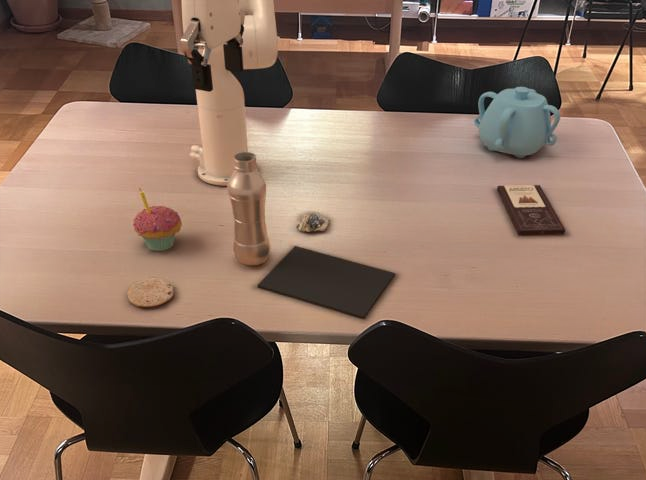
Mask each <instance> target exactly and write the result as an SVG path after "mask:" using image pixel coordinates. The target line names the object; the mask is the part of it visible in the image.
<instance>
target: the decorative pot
mask: <svg viewBox="0 0 646 480" xmlns="http://www.w3.org/2000/svg"><path fill="white" fill-rule="evenodd" d="M486 98H492V101H491V102H490V104H489V105H488V107H487V108H486V110H485V99H486ZM548 103H549V102H548V100H547V98H546V96H544V95H542V94H540V93H537V91H536V90H535V89H534V88H528V87H526V86H516V87H514V88H506V89H503V90H501V91H500V92H499V93H496V92H494V91H487V92H484V93H482V94H481V95H480V96H479V99H478V103H477V104H478V113H479V115H476V116H475V118H474V119H473V124H474V125H475V127H476V128H478V137H479V139H480V141H481V143H482V144H483V145H484V146H485V147H487V150H489V151H492V152H500V153H504V154H507V155H513V156H514V157H515V158H517V159H518V158H519V159H522V158H525V157H526V156H531V155H534V154H536V153H537V152H538V151H539V150H540V149H542V147H544V145H546V146H549V147H550V146H554V145H555V144H556V143H557V142H558V137H557V135H556V134H554V133H553V132H554V131H555V130H556V128H557V126H558V125H559V123H560V120H561V113H560V111H559V109H558V108H557V107H556V106H554V105H551V104H548ZM551 113H552V114H553V116H554V120H553V123H552V117H551ZM550 138H551V139H552V140H551V139H550Z"/></svg>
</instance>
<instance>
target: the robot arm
mask: <svg viewBox="0 0 646 480" xmlns="http://www.w3.org/2000/svg"><path fill="white" fill-rule="evenodd" d="M181 16H182V17H181V18H182V19H181V21H182V31H183V35H182V36H181V38H180V45H181V47H182V50H183V51H184V56H185V58H186V59H187V62H188V64H189V65H190V67H191V76H192V85H193V89H194V90H195V95H196V105H197V112H198V122H199V131H200V139H201V146H200V145H195V144H193V145H192V146H191V147H190V153H189V158H190V159H192V160H197V161H199V165H198V166H197V175H198V178H200V180H201V181H203V182H205V183H207V184H209V185H214V186H222V187H225V186H226V187H227V185H228V181H229V179H230V177H231V175H232V174H233V173H234V171H235V169H234V165H233V164H234V155H235V154H237V153H241V152H249V147H248V135H247V134H248V131H247V118H246V104H245V92H244V89H243V87H242V85H241V83H240V81H239V80H238V79H237V77H236V76H235V75H234V74H233V73H232V72H235V73H243V72H244V70H256V69H257V70H258V69H267V68H270V67H272V66H274V64H275V63H276V61H277V59H278V52H279V46H278V45H279V43H278V42H279V41H278V32H277V23H276V22H277V21H276V13H275V3H274V0H181Z"/></svg>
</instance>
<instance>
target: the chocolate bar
mask: <svg viewBox="0 0 646 480" xmlns="http://www.w3.org/2000/svg"><path fill="white" fill-rule="evenodd" d="M496 191H497V193H498V195H499V197H500V199H501V201H502V204H503V206H504V207H505V210H506V213H507V214H508V216H509V218H510V220H511V222H512V224H513V227H514V229H515V231H516V233H517V235H518V236H542V235H543V236H546V235H547V236H548V235H549V236H550V235H565V233H566V228H565V226H564V224H563V223H562V221H561V219H560V218H559V216H558V214H557V212H556V210H555V209H554V207H553V205H552V204H551V202H550V200H549V198H548V196H547V195H546V193H545V191H544V190H543V187H542V186H541V185H540V184H528V185H527V184H526V185H524V184H523V185H522V184H521V185H519V184H518V185H517V184H516V185H497V187H496Z"/></svg>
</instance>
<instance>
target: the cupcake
mask: <svg viewBox="0 0 646 480" xmlns="http://www.w3.org/2000/svg"><path fill="white" fill-rule="evenodd" d="M138 190H139V195H140V197H141V200H142V202H143V205H144V209H141V211H140V212H139V211H138V212H137V214H136V216H135V217H134V219H133V224H132V225H133V230H134V232H135V233H136V234H137V236H139V237H142V239H143V241H144V242H145V245H146V246H147V247H148V249H149V250H151V251H155V252H164V251H167V250H169V249H171V248H172V247H173V246H174V243H175V237H176V234H177V233H179V232H180V231H181V228H182V226H183V223H182V219H181V217H180V215H179V213H178V211H175V210H174V209H172V208H171V206H169V207H167V206H165V205H152V206H149V202H148V200H147V198H146V195H145V192H144V190H142V189H141V188H140V187H138Z"/></svg>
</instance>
